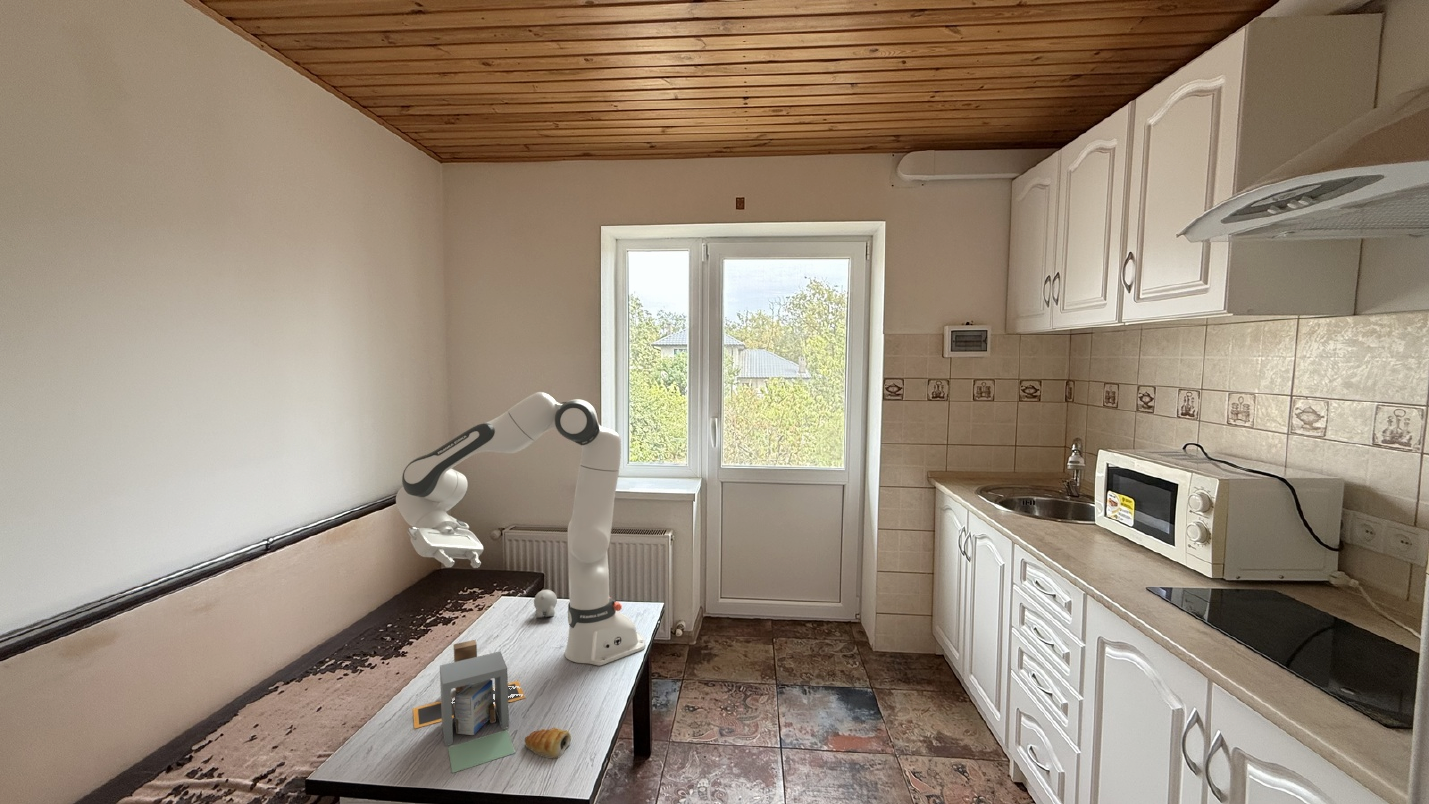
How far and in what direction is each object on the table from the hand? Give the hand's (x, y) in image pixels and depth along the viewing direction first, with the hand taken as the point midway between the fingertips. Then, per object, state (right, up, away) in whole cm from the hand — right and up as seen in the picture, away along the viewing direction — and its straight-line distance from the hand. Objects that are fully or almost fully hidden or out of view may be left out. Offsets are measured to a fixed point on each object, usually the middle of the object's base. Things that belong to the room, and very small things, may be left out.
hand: (464, 565), depth 145 cm
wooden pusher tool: (+5, -31, -9) cm, 32 cm away
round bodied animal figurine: (+8, -29, +44) cm, 53 cm away
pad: (+14, -32, -25) cm, 43 cm away
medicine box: (+9, -31, -16) cm, 36 cm away
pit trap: (+4, -31, -7) cm, 32 cm away
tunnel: (+9, -32, -16) cm, 36 cm away
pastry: (+28, -32, -24) cm, 49 cm away
